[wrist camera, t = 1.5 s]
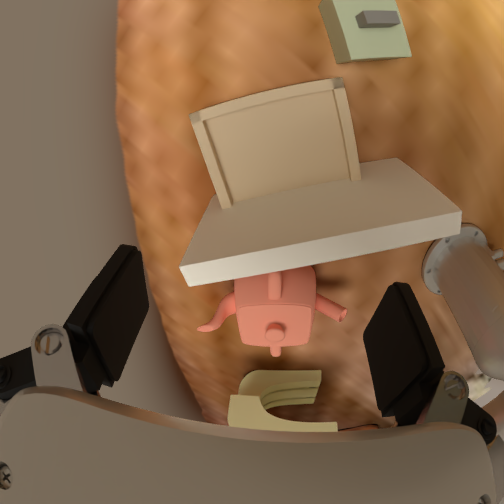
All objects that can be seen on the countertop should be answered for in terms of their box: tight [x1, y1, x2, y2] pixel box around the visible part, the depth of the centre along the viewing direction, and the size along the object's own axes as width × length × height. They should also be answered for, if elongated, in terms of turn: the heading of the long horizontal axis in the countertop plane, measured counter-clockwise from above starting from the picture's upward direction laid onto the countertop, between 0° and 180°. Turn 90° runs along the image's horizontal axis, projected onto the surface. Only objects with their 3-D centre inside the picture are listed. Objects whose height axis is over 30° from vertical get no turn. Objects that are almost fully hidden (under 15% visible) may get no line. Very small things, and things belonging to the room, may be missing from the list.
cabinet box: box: [318, 0, 412, 64], centre depth 17 cm, size 6×7×8 cm
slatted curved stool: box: [228, 370, 338, 432], centre depth 48 cm, size 30×16×18 cm, turn 2°
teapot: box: [197, 265, 347, 357], centre depth 35 cm, size 14×12×10 cm
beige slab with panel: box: [179, 77, 462, 287], centre depth 22 cm, size 22×12×14 cm, turn 106°
